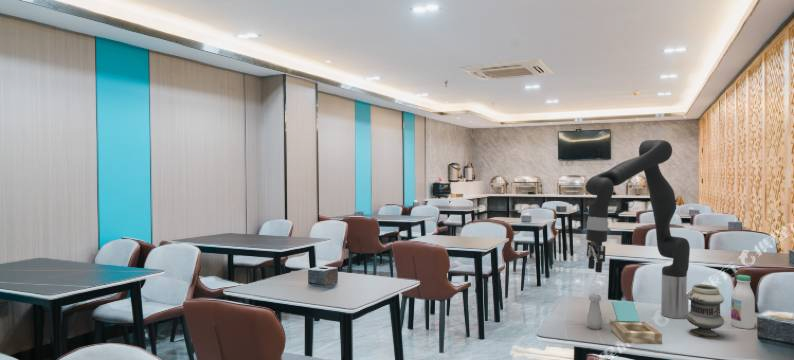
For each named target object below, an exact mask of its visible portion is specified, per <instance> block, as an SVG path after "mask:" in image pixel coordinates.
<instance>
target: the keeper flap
mask: <svg viewBox="0 0 794 360" xmlns="http://www.w3.org/2000/svg"><path fill="white" fill-rule="evenodd" d="M611 304H612V308H613V311H614V314H615V319H617V322H633V323H641V321H640V318H639V314H638V312H637V308H636V305H635V302H634V301H622V300H621V301H614V300H612V301H611Z"/></svg>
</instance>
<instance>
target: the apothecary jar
mask: <svg viewBox="0 0 794 360" xmlns="http://www.w3.org/2000/svg"><path fill="white" fill-rule="evenodd" d="M719 288H720V287H718V286H715V285H711V284H705V283H703V284H700V283H699V284H698V283H697V284H693V285H692V288H691V290H689V291H688V293H686V294H687V296H688V298H689V299H688V301H690V309H689V310H690V311H688V314H687V318H686V320H687V322H689V323H690V324H691V325H693V326H695V328H691V329H689V333H690V334H691V335H693V336H694V337H695V336H696V337H699V338H705V339H719V338H720V337H721V335H720V333H718V332H716V331H715V329H718V328H721V327H722V326H724V325H725V320H724V317H723V316H722V315H721V304H723V303H724V301H725V297H724V296H723V294H722V293H720V289H719Z"/></svg>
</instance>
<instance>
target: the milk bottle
mask: <svg viewBox="0 0 794 360" xmlns="http://www.w3.org/2000/svg"><path fill="white" fill-rule="evenodd" d="M735 278H736V286H735V287H734V289H733V291H732V293H731V301H730V303H731V304H730V305H731V306H730V324H731V326H733V327H735V328H739V329H747V330H749V329H750V330H751V329H754V328H755V321H756V319H755V317H756V313H755V312H756V300H755V299H756V298H755V294H754V291H753V289H752V288H751V284H750V283H751V279H752V278H751V276H750V275H745V274H738V275H736V277H735Z"/></svg>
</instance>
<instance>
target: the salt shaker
mask: <svg viewBox="0 0 794 360" xmlns="http://www.w3.org/2000/svg"><path fill="white" fill-rule="evenodd" d="M588 299H589V301H590V302H589V307H588V312H587V317H586V324H587V327H588V329H590V330H591V329H592V330H600V329H601V327H602V325H603V322H604V321H603V317H602V310H601V305H600V302H601V301H602V300H601V299H602V298H601V295H600V294H597V293H591V294H589V295H588Z"/></svg>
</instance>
